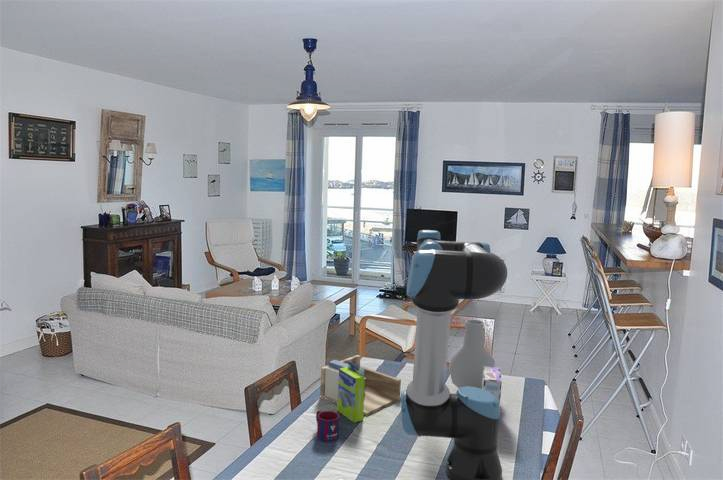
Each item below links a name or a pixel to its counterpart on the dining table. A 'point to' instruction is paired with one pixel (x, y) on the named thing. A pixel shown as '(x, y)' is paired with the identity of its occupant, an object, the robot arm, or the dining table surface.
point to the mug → (327, 425)
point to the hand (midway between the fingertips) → (423, 338)
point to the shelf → (371, 387)
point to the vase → (470, 357)
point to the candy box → (492, 381)
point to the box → (351, 392)
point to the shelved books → (333, 378)
